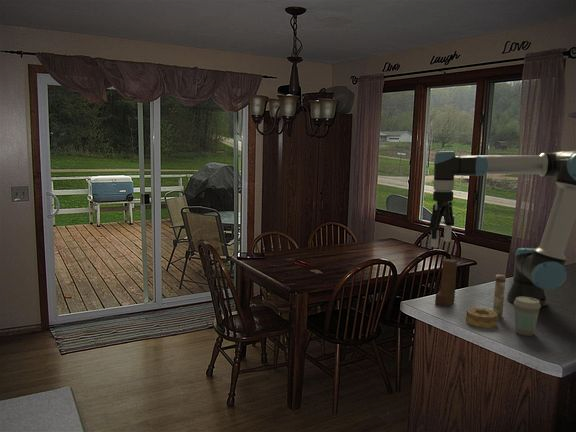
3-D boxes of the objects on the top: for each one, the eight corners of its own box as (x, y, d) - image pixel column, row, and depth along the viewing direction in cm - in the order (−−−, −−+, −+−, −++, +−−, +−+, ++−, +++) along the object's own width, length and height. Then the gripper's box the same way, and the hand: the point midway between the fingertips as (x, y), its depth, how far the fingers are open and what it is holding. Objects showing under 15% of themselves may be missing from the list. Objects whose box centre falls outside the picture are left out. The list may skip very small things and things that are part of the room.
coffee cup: (536, 339, 164) (540, 305, 162) (509, 333, 168) (512, 300, 166) (539, 331, 171) (542, 298, 169) (512, 326, 175) (515, 294, 174)
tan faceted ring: (491, 318, 182) (492, 308, 182) (499, 328, 173) (500, 317, 172) (464, 316, 184) (465, 306, 183) (470, 326, 174) (470, 315, 174)
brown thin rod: (470, 308, 194) (470, 307, 194) (473, 308, 194) (473, 307, 194) (476, 317, 183) (476, 316, 183) (480, 317, 183) (480, 316, 183)
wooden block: (445, 307, 195) (448, 264, 192) (434, 304, 198) (437, 262, 195) (454, 302, 201) (457, 260, 198) (444, 299, 204) (447, 258, 202)
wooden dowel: (501, 314, 187) (504, 274, 185) (503, 317, 184) (507, 277, 182) (491, 313, 188) (494, 274, 185) (493, 317, 184) (497, 276, 182)
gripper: (445, 188, 200) (443, 238, 203) (421, 192, 180) (419, 248, 183) (463, 189, 195) (461, 240, 198) (440, 193, 176) (438, 250, 179)
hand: (441, 244), depth 191 cm, fingers open, 13 cm apart
